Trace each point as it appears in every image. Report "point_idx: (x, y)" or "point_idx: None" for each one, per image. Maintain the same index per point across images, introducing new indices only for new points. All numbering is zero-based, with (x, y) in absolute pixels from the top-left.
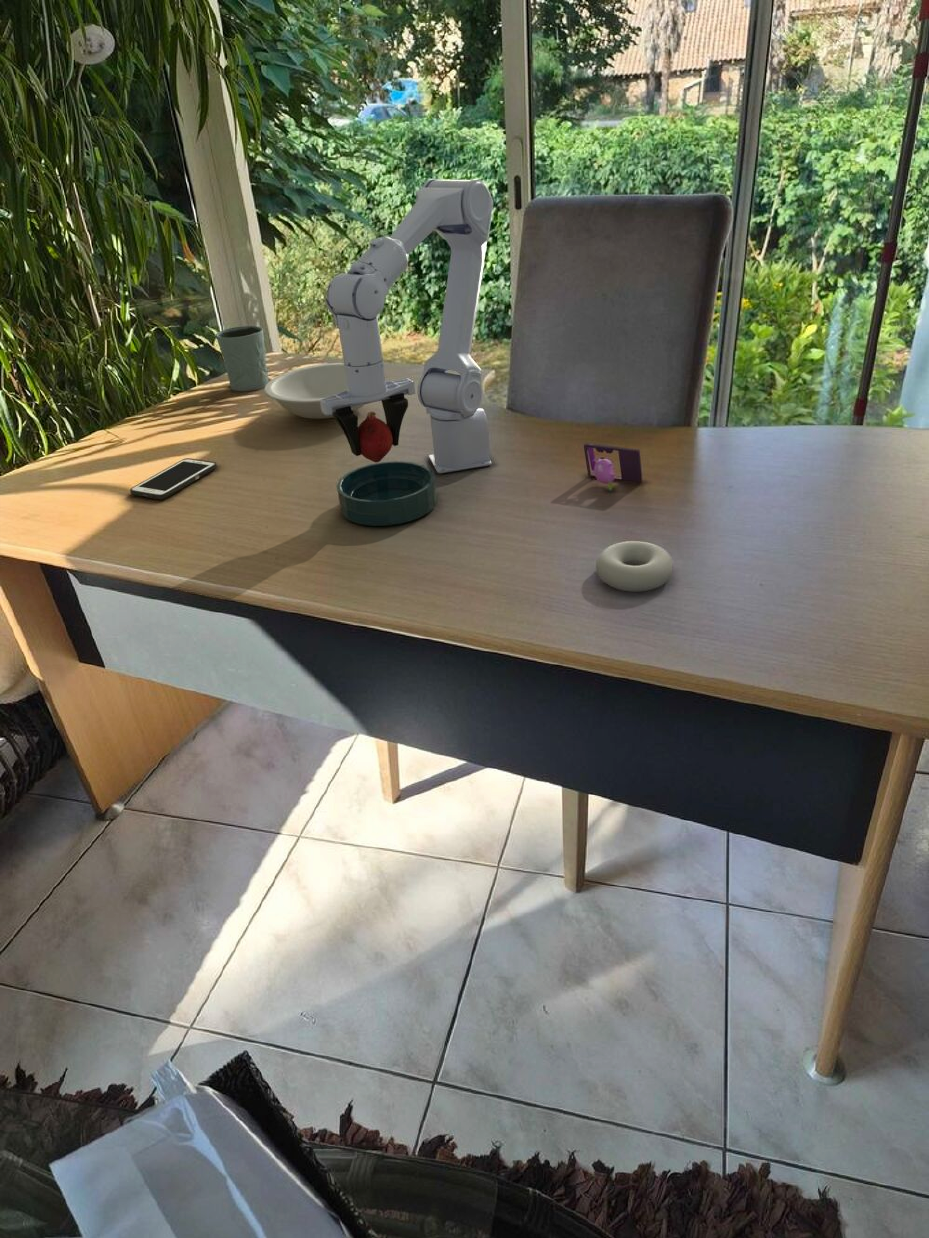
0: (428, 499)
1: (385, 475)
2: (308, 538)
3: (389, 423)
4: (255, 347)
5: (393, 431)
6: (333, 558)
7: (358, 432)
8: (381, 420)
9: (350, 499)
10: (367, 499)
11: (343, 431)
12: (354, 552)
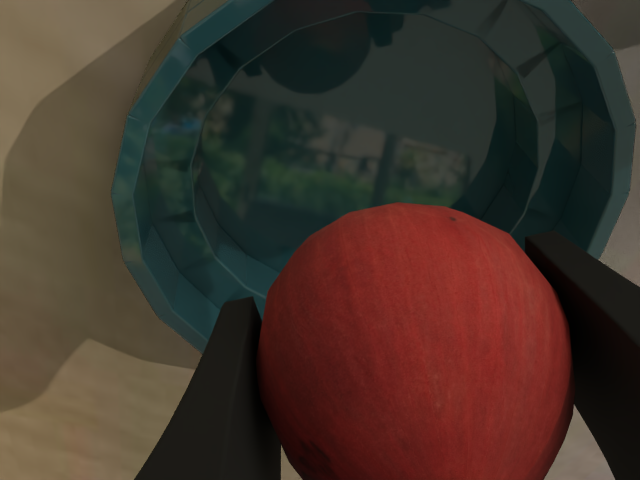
0: None
1: None
2: (9, 288)
3: (611, 381)
4: None
5: (576, 391)
6: (113, 407)
7: (297, 466)
8: (546, 473)
9: (181, 335)
10: (275, 80)
11: (163, 440)
12: (179, 396)
